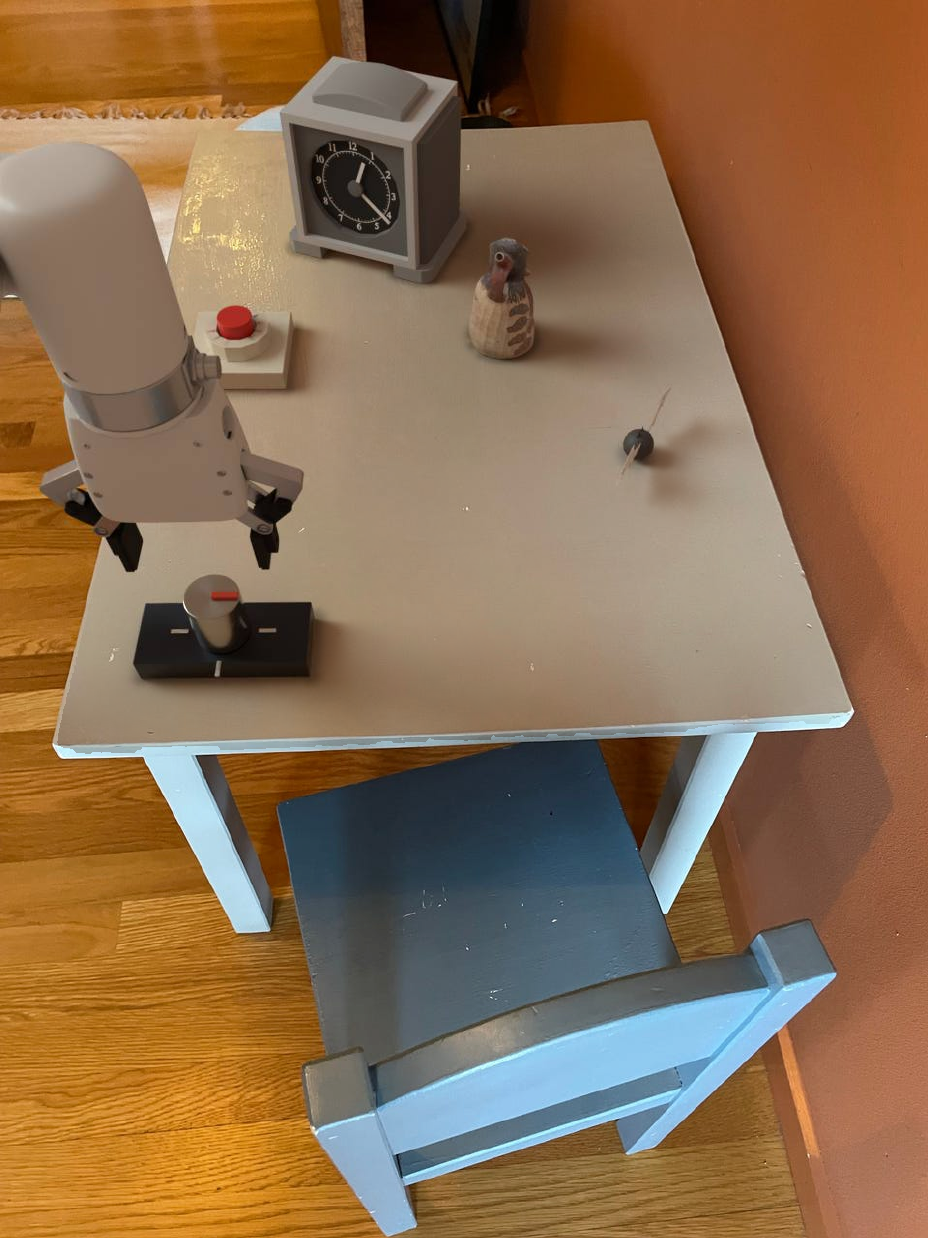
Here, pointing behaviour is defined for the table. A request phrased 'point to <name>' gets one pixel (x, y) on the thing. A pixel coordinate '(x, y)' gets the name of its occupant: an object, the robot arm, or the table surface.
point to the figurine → (503, 304)
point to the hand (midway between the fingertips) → (201, 555)
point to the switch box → (250, 350)
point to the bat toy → (640, 441)
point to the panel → (267, 652)
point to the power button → (235, 322)
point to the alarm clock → (376, 166)
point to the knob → (217, 613)
